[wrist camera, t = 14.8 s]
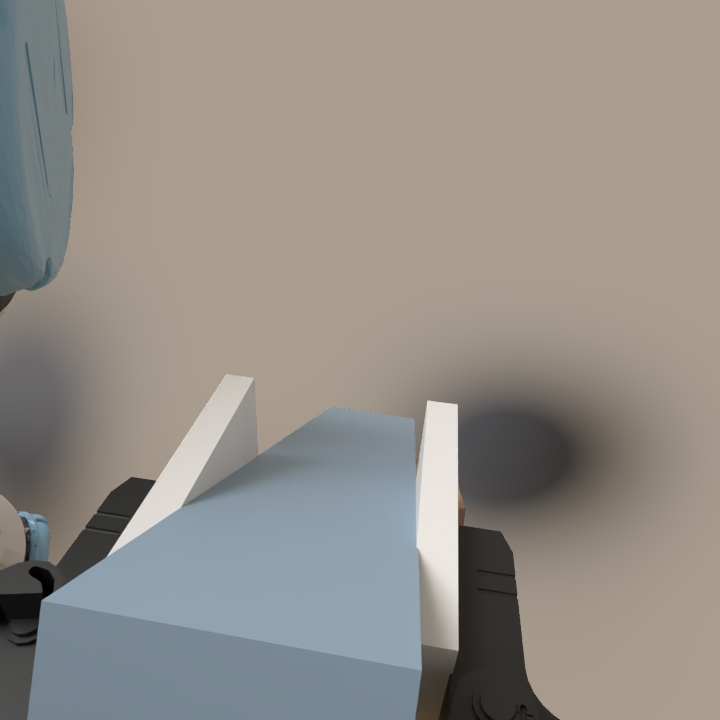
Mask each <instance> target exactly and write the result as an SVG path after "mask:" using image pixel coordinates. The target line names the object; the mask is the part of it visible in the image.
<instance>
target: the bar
mask: <svg viewBox="0 0 720 720" xmlns="http://www.w3.org/2000/svg"><path fill="white" fill-rule="evenodd" d="M414 427H415V426H414V419H413V418H406V417H399V416H391V415H385V414H378V413H371V412H364V411H357V410H350V409H343V408H336V407H331V408H329V409H328V410H326V411H325V412H323V413H322V414H320V415H319V416H317V417H316V418H314V419H313V420H311V421H310V422H308V423H307V424H305V425H304V426H302V427H301V428H299V429H298V430H296V431H295V432H293V433H292V434H290V435H289V436H287V437H286V438H284V439H283V440H281V441H280V442H278V443H277V444H275V445H274V446H272V447H271V448H269V449H268V450H266V451H265V452H263V453H262V454H261V455H259V456H258V457H256V458H255V459H253V460H252V461H250V462H249V463H247V464H246V465H244V466H243V467H241V468H240V469H238V470H237V471H235V472H234V473H232V474H231V475H229V476H228V477H226V478H225V479H223V480H222V481H220V482H218V483H217V484H215V485H214V486H212V487H211V488H209V489H208V490H206V491H205V492H203V493H202V494H200V495H199V496H197V497H196V498H194V499H193V500H191V501H190V502H188V503H187V504H185V505H184V506H182V507H181V508H179V509H178V510H176V511H175V512H173V513H172V514H170V515H169V516H167V517H166V518H164V519H163V520H161V521H160V522H158V523H157V524H155V525H154V526H152V527H151V528H149V529H148V530H147V531H145V532H144V533H142V534H141V535H139V536H138V537H136V538H135V539H133V540H132V541H130V542H129V543H127V544H126V545H124V546H123V547H121V548H120V549H118V550H117V551H115V552H114V553H112V554H111V555H109V556H108V557H106V558H105V559H103V560H102V561H100V562H99V563H97V564H96V565H94V566H93V567H91V568H90V569H88V570H87V571H85V572H84V573H82V574H81V575H79V576H78V577H76V578H75V579H73V580H72V581H70V582H69V583H67V584H66V585H64V586H63V587H61V588H60V589H58V590H57V591H55V592H54V593H52V594H51V595H49V596H48V597H46V598H45V599H43V600H42V601H41V609H40V617H39V626H38V634H37V642H36V650H35V659H34V667H33V675H32V684H31V692H30V700H29V709H28V717H27V720H415V716H416V709H417V702H418V695H419V687H420V680H421V673H422V661H421V627H420V594H419V560H418V548H416V460H415V429H414Z"/></svg>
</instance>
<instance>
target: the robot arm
mask: <svg viewBox="0 0 720 720" xmlns="http://www.w3.org/2000/svg"><path fill="white" fill-rule="evenodd" d="M72 125H73V93H72V76H71V61H70V49H69V39H68V28H67V19H66V11H65V4H64V0H0V318H1V317H2V316H3V315H4V314H5V313H6V312H7V310H8V309H9V307H10V306H11V304H12V302H13V301H14V300H15V298H16V296H17V293H18V291H19V290H22V289H26V290H29V291H33V290H37V289H39V288H42V287H44V286H46V285H47V284H49V283H50V282H51V281H52V280H54V278H55V277H56V276H57V274H58V272H59V271H60V268H61V266H62V263H63V260H64V256H65V252H66V248H67V244H68V238H69V230H70V218H71V210H72V197H73V173H74V168H73V155H72V154H73V148H72V135H71V129H72ZM256 457H258V447H257V426H256V404H255V382H254V378H251V377H242V376H236V375H228V374H226V376H225V377H224V379H223V380H222V382H221V383H220V385H219V386H218V388H217V389H216V391H215V392H214V394H213V395H212V397H211V398H210V400H209V401H208V403H207V405H206V406H205V408H204V409H203V411H202V412H201V414H200V415H199V417H198V418H197V420H196V422H195V423H194V424H193V426H192V428H191V429H190V431H189V432H188V434H187V435H186V437H185V438H184V440H183V441H182V443H181V444H180V446H179V448H178V449H177V450H176V452H175V454H174V455H173V457H172V458H171V460H170V461H169V463H168V464H167V466H166V467H165V469H164V471H163V472H162V474H161V475H160V476H159V478H158V479H157V481H154V480H148V479H141V478H134V477H131V478H130V479H128V480H127V481H125V482H124V483H123V484H121V485H120V486H119V487H117V488H116V489H115V490H113V491H112V492H111V493H110V494H109V495H108V497H107V498H106V499H105V501H104V502H103V504H102V505H101V506H100V507H99V509H98V510H97V514H96V515H95V514H94V516H93V517H92V518H91V520H90V521H89V522H88V524H87V525H86V529H85V530H83V531H82V532H81V533H80V535H79V536H78V537H77V539H76V540H75V541H74V543H73V544H72V545H71V547H70V548H69V550H68V551H67V552H66V554H65V555H64V556H63V558H62V559H61V560H60V562H59V563H58V564H57V566H54V565H53V564H51V563H50V562H48V554H49V542H50V532H49V525H48V521H47V519H46V518H44V517H43V516H41V515H35V514H34V515H33V514H29V513H27V512H17V511H16V510H15V508H13V506H12V505H11V504H10V502H9V501H8V500H7V499H5V498H4V497H3V496H2V495H0V720H27V717H28V709H29V700H30V692H31V684H32V675H33V667H34V659H35V650H36V642H37V634H38V626H39V617H40V609H41V601H42V600H43V599H45V598H46V597H48V596H49V595H51V594H52V593H54V592H55V591H57V590H58V589H60V588H61V587H63V586H64V585H66V584H67V583H69V582H70V581H72V580H73V579H75V578H76V577H78V576H79V575H81V574H82V573H84V572H85V571H87V570H88V569H90V568H91V567H93V566H94V565H96V564H97V563H99V562H100V561H102V560H103V559H105V558H106V557H108V556H109V555H111V554H112V553H114V552H115V551H117V550H118V549H120V548H121V547H123V546H124V545H126V544H127V543H129V542H130V541H132V540H133V539H135V538H136V537H138V536H139V535H141V534H142V533H144V532H145V531H147V530H148V529H149V528H151V527H152V526H154V525H155V524H157V523H158V522H160V521H161V520H163V519H164V518H166V517H167V516H169V515H170V514H172V513H173V512H175V511H176V510H178V509H179V508H181V507H182V506H184V505H185V504H187V503H188V502H190V501H191V500H193V499H194V498H196V497H197V496H199V495H200V494H202V493H203V492H205V491H206V490H208V489H209V488H211V487H212V486H214V485H215V484H217V483H218V482H220V481H222V480H223V479H225V478H226V477H228V476H229V475H231V474H232V473H234V472H235V471H237V470H238V469H240V468H241V467H243V466H244V465H246V464H247V463H249V462H250V461H252V460H253V459H255V458H256ZM416 548H418V560H419V594H420V627H421V661H422V673H421V680H420V687H419V695H418V702H417V709H416V716H415V720H560V719H558V718H557V717H555V716H554V715H553V714H551V713H550V712H549V711H548V710H547V709H546V708H545V707H544V706H543V705H542V703H541V702H540V701H539V700H538V698H537V697H536V695H535V694H534V692H533V690H532V688H531V686H530V684H529V682H528V678H527V674H526V670H525V662H524V653H523V645H522V644H523V643H522V634H521V625H520V617H519V616H520V615H519V606H518V599H517V587H516V580H515V569H514V559H513V552H512V551H511V549H510V547H509V545H508V543H507V542H506V540H505V538H504V536H503V535H502V533H501V532H500V531H493V530H487V529H480V528H474V527H467V526H461V525H458V405H456V404H448V403H440V402H433V401H427V409H426V415H425V421H424V429H423V435H422V442H421V448H420V455H419V462H418V469H417V475H416Z"/></svg>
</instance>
